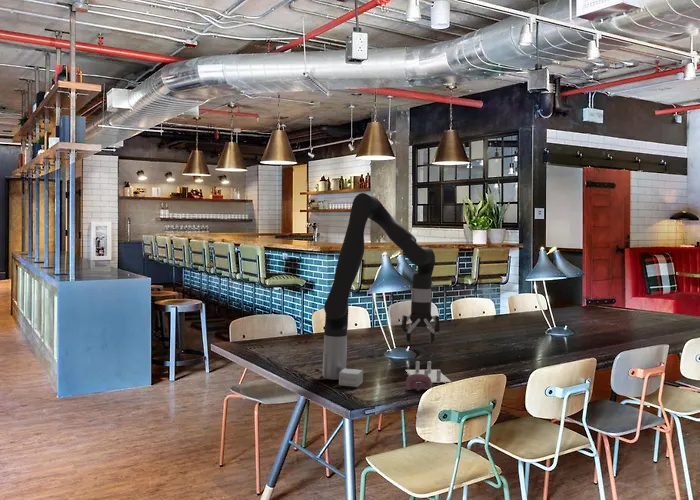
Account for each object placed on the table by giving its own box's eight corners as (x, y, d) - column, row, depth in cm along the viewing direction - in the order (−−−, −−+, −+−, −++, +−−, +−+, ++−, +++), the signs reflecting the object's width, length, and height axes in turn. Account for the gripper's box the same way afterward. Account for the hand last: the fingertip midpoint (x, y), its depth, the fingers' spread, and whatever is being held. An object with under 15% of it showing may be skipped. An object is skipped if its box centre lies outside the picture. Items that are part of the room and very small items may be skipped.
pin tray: (416, 384, 247) (417, 371, 247) (405, 372, 267) (405, 360, 267) (451, 384, 249) (451, 371, 249) (437, 371, 269) (438, 360, 268)
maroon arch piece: (431, 393, 240) (430, 375, 243) (433, 391, 236) (432, 372, 239) (405, 393, 240) (404, 374, 243) (406, 390, 236) (406, 372, 239)
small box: (363, 382, 248) (363, 369, 248) (357, 387, 241) (358, 374, 241) (344, 380, 250) (344, 367, 250) (338, 385, 243) (338, 372, 243)
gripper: (405, 301, 234) (403, 344, 234) (442, 301, 236) (441, 344, 236) (400, 298, 241) (399, 340, 242) (437, 299, 243) (435, 340, 244)
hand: (420, 342), depth 239 cm, fingers open, 8 cm apart
